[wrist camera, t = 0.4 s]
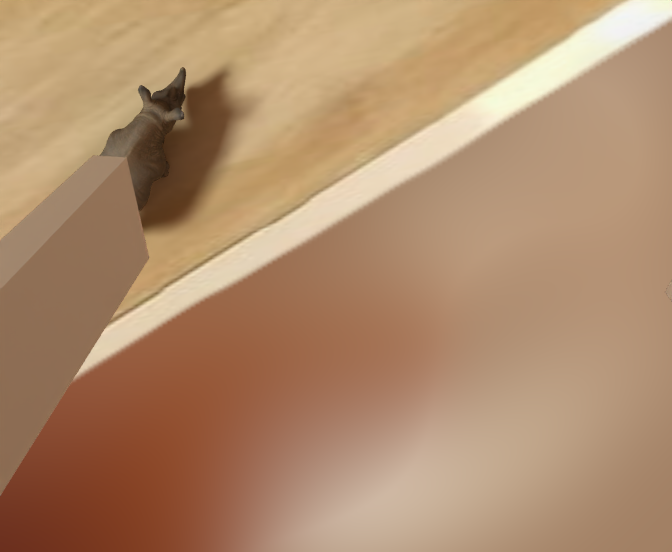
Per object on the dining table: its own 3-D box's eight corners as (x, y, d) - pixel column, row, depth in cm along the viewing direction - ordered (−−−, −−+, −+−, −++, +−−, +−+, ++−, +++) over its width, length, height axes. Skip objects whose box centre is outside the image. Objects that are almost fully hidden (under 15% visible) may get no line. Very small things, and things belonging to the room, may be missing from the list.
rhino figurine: (223, 92, 36) (206, 87, 30) (127, 248, 39) (95, 270, 33) (172, 55, 35) (144, 43, 29) (78, 217, 38) (36, 235, 32)
